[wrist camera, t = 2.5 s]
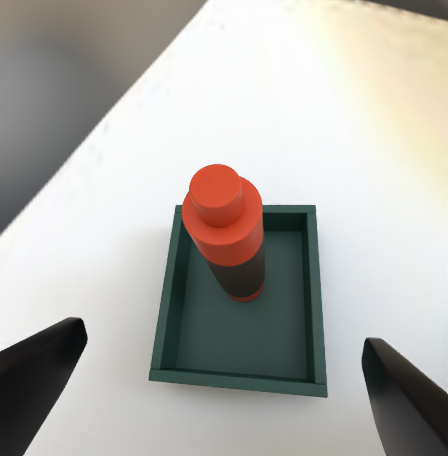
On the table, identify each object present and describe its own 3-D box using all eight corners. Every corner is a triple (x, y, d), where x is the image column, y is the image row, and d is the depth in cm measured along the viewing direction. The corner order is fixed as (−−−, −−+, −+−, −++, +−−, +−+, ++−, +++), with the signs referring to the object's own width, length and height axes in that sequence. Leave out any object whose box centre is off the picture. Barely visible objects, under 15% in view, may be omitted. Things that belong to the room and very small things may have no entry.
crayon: (263, 305, 20) (259, 232, 8) (219, 300, 21) (158, 226, 9) (266, 262, 21) (266, 146, 9) (225, 259, 22) (177, 145, 10)
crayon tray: (316, 390, 18) (328, 398, 15) (168, 376, 20) (147, 380, 16) (308, 227, 23) (315, 204, 19) (188, 226, 24) (175, 204, 21)
